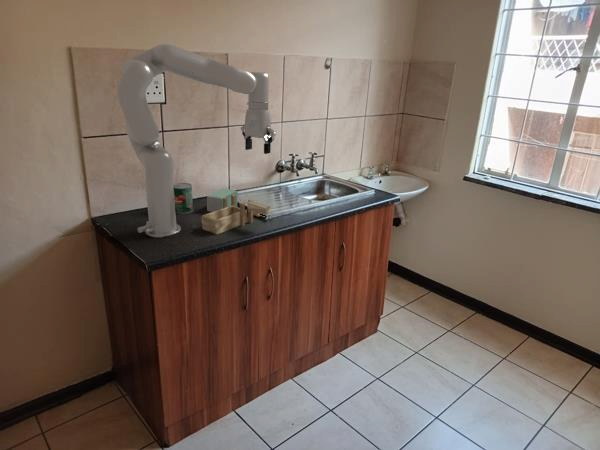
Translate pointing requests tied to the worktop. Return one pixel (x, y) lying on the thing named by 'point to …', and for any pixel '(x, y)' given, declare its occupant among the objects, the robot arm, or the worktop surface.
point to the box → (219, 199)
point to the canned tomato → (183, 198)
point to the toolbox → (227, 217)
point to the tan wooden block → (258, 208)
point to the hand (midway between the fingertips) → (257, 151)
